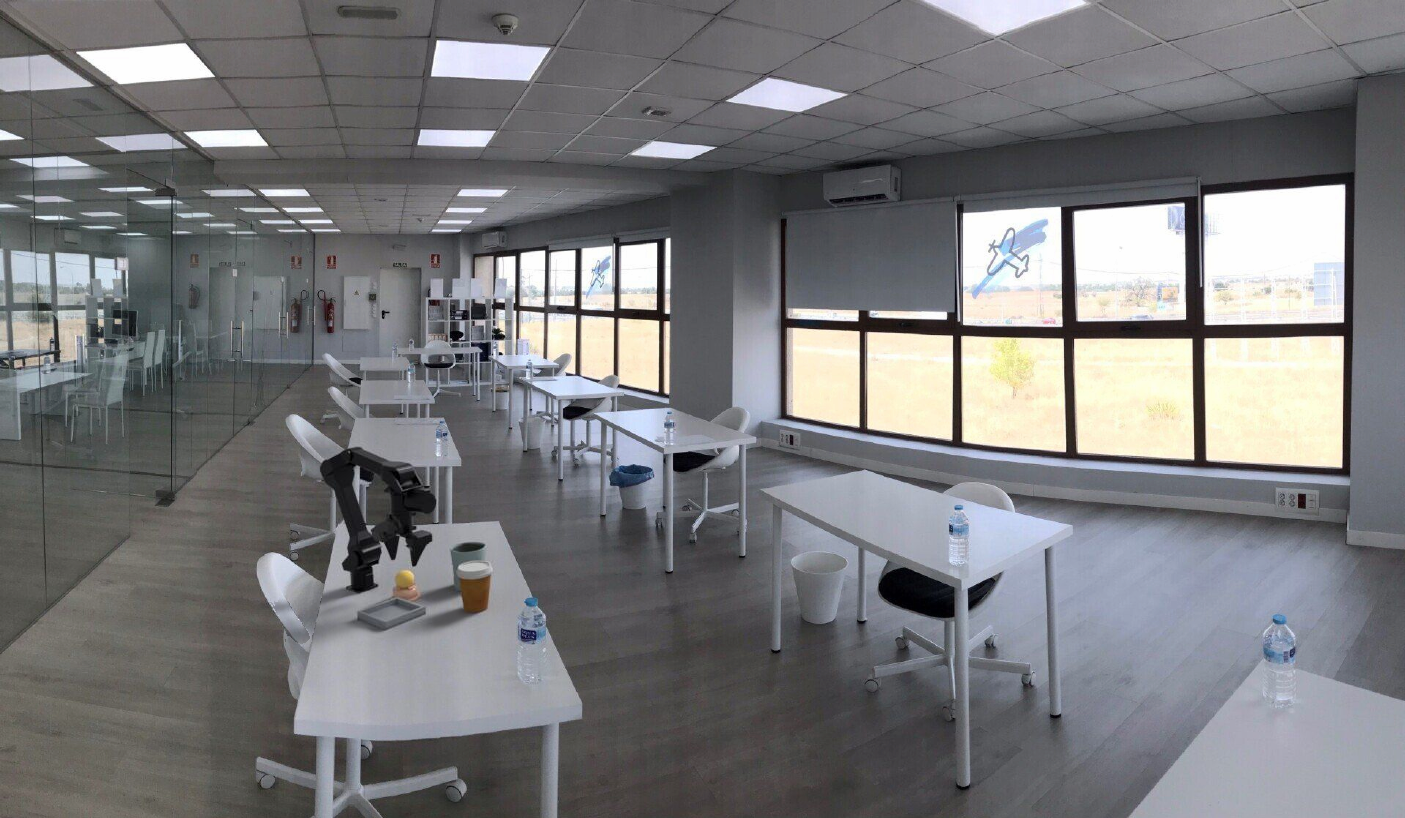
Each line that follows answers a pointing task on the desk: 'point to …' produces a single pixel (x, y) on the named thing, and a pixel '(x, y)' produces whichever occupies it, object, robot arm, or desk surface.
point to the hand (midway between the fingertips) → (403, 563)
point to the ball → (404, 579)
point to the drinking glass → (466, 556)
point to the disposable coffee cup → (475, 585)
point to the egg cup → (406, 593)
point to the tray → (391, 613)
